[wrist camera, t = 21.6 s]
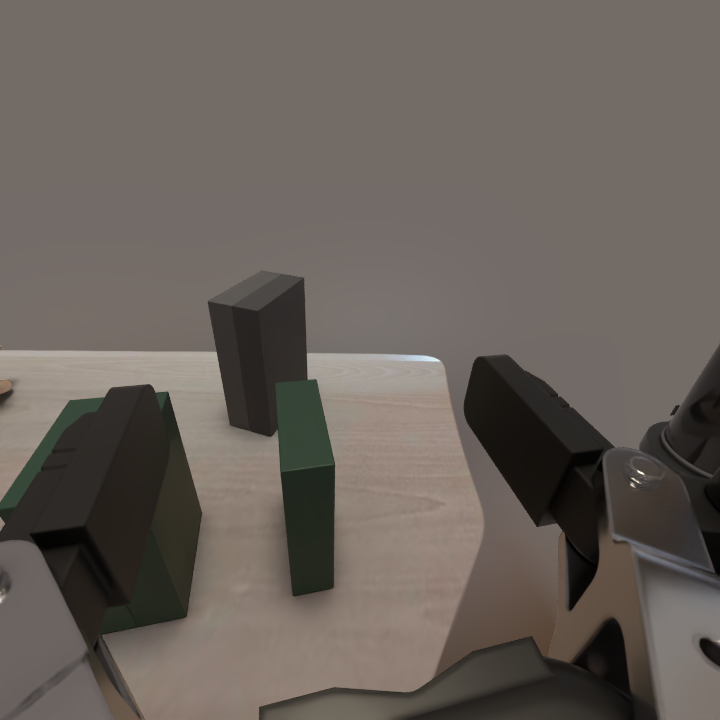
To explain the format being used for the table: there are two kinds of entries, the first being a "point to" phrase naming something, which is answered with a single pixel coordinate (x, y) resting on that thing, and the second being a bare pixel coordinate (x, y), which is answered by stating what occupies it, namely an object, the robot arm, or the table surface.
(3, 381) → the decorative flower
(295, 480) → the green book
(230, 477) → the table surface
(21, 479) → the green rectangular block
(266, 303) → the grey faceted block
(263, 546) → the table surface
